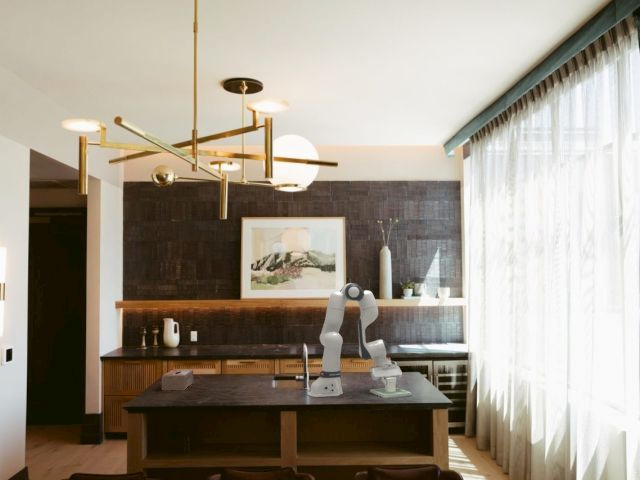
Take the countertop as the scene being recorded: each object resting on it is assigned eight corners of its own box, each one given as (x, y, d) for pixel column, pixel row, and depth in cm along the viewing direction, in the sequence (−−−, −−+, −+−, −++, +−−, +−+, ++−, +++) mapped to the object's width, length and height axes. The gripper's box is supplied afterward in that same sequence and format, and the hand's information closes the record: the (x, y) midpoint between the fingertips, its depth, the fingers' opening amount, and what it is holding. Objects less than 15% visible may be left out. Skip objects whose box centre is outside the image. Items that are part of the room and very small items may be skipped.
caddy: (389, 392, 363) (389, 379, 364) (385, 390, 368) (385, 377, 369) (396, 391, 365) (396, 378, 366) (392, 390, 370) (392, 377, 371)
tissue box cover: (183, 391, 384) (183, 375, 385) (161, 391, 385) (161, 376, 385) (193, 384, 410) (193, 369, 411) (172, 384, 410) (172, 369, 411)
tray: (385, 398, 354) (385, 395, 355) (370, 392, 373) (370, 389, 373) (411, 396, 361) (411, 392, 361) (395, 390, 380) (395, 387, 380)
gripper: (369, 363, 371) (377, 382, 361) (398, 361, 378) (406, 379, 369) (366, 370, 375) (374, 388, 365) (395, 367, 382) (403, 385, 373)
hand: (390, 384), depth 367 cm, fingers closed on caddy, 5 cm apart
